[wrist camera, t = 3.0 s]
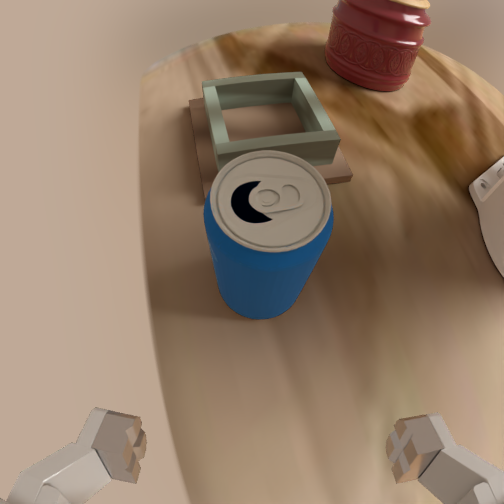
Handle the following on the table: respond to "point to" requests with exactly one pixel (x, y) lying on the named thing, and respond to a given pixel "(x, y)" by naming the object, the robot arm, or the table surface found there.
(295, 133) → the cradle
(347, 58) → the canister
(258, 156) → the beverage can
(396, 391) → the table surface
